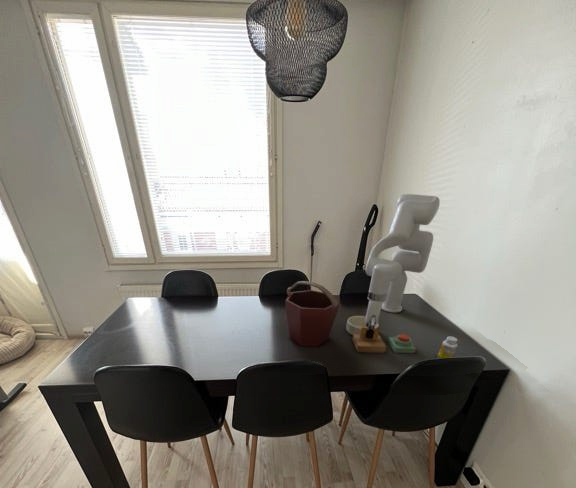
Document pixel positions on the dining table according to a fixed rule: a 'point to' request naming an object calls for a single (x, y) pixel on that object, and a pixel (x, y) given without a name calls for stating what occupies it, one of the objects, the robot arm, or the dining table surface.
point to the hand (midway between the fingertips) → (369, 333)
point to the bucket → (310, 314)
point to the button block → (401, 345)
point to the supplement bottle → (448, 348)
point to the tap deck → (369, 344)
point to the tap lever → (364, 329)
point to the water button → (403, 338)
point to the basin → (356, 324)
